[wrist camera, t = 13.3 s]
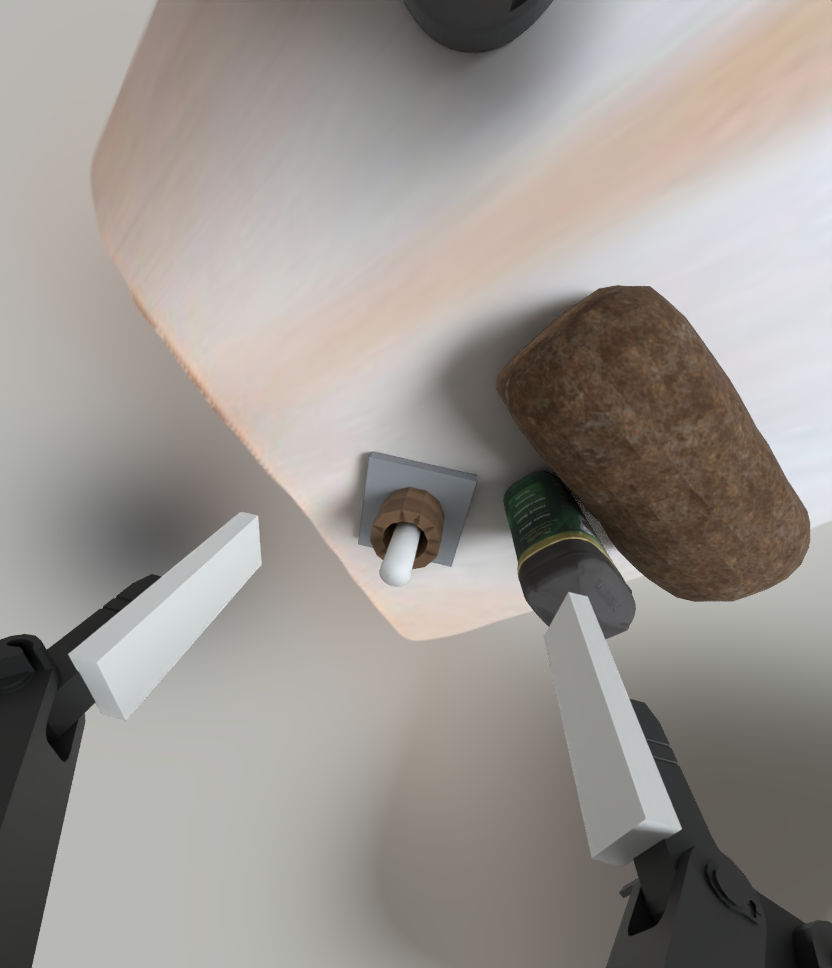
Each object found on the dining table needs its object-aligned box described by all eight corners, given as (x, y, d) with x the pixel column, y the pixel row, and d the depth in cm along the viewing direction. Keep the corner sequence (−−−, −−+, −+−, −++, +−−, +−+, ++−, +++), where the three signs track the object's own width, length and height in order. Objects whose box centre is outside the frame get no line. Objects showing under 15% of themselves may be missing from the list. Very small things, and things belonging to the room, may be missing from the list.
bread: (598, 270, 32) (704, 221, 17) (748, 495, 39) (910, 591, 24) (480, 376, 37) (487, 404, 23) (629, 556, 44) (704, 662, 30)
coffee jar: (492, 494, 43) (507, 595, 27) (545, 459, 40) (599, 550, 24) (533, 543, 45) (571, 665, 29) (587, 513, 42) (663, 631, 26)
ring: (387, 481, 42) (375, 503, 37) (449, 496, 42) (447, 520, 37) (378, 533, 46) (366, 559, 41) (436, 547, 46) (432, 576, 40)
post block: (373, 451, 43) (334, 500, 31) (476, 475, 42) (479, 535, 30) (362, 536, 49) (325, 605, 37) (451, 558, 49) (445, 637, 36)
